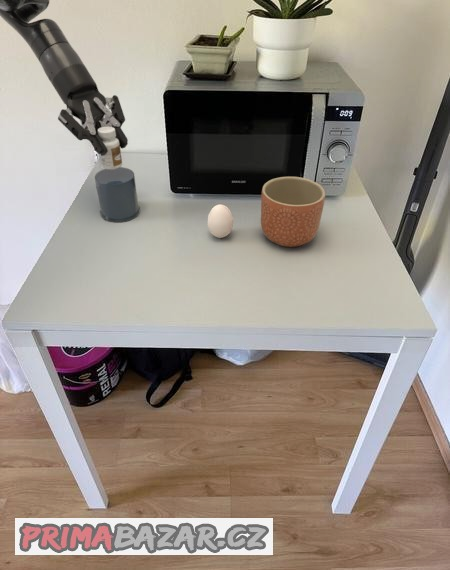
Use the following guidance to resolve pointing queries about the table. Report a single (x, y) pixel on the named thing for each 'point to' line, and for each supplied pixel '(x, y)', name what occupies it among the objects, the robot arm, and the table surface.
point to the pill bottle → (110, 148)
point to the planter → (291, 210)
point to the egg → (220, 221)
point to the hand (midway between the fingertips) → (115, 149)
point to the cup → (117, 194)
